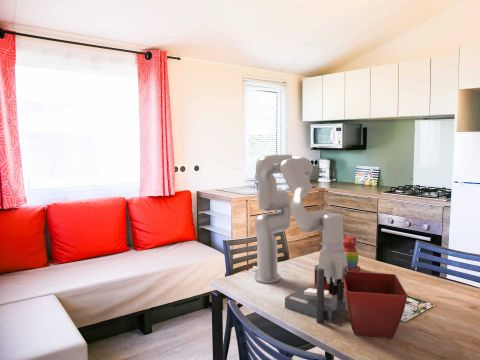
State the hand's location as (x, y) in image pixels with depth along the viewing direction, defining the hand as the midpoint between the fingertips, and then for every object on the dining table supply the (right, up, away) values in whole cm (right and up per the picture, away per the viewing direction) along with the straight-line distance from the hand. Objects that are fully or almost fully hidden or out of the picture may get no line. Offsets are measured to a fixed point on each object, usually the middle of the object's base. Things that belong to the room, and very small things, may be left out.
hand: (333, 293), depth 140 cm
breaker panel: (-6, -8, +6) cm, 11 cm away
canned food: (+1, -6, +22) cm, 23 cm away
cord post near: (-6, -9, -5) cm, 12 cm away
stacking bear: (+20, -3, +47) cm, 51 cm away
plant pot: (+11, -9, -9) cm, 17 cm away
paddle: (-4, -1, +4) cm, 6 cm away
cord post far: (+5, -7, +8) cm, 12 cm away
